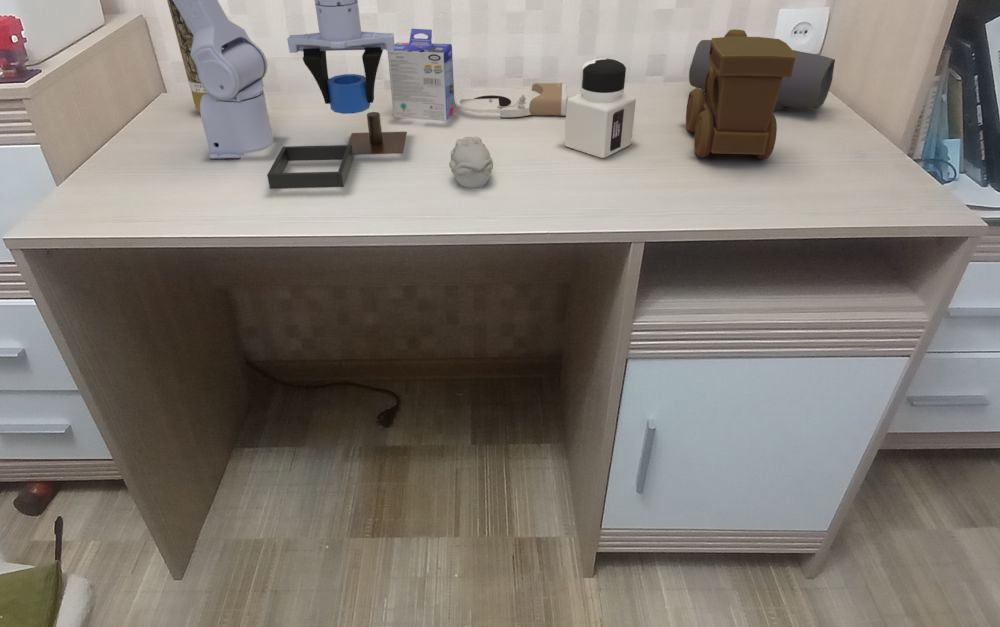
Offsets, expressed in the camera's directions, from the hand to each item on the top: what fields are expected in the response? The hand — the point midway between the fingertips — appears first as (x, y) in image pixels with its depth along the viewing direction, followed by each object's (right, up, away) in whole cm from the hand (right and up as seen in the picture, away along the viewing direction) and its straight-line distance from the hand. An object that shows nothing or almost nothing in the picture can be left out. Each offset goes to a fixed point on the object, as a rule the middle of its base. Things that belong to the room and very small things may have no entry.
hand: (349, 101), depth 103 cm
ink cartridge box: (+9, +3, +19) cm, 21 cm away
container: (+38, -5, +8) cm, 39 cm away
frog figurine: (+18, -13, -4) cm, 23 cm away
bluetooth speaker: (+68, +7, +24) cm, 72 cm away
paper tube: (-29, +5, +24) cm, 38 cm away
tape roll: (0, -1, +1) cm, 1 cm away
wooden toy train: (+58, -5, +8) cm, 58 cm away
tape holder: (+3, -5, +8) cm, 10 cm away
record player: (+24, +6, +23) cm, 34 cm away
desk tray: (-5, -12, -1) cm, 13 cm away
